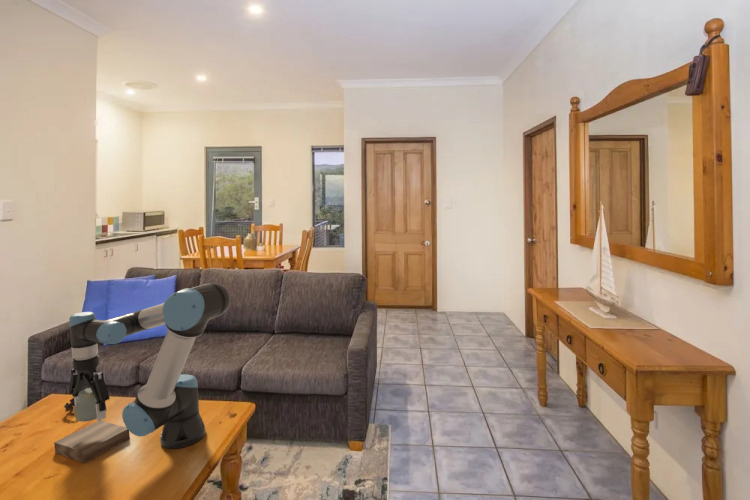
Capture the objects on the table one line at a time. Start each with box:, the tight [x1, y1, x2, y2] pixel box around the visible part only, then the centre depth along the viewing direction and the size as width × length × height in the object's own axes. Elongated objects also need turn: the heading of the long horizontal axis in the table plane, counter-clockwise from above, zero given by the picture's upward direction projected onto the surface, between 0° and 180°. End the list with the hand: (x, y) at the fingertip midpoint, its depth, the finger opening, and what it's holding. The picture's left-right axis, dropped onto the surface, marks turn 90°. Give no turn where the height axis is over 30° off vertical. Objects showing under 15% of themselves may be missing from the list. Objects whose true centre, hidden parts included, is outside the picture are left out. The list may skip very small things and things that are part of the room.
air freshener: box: [72, 387, 107, 422], centre depth 146 cm, size 11×8×10 cm
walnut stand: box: [53, 420, 131, 464], centre depth 147 cm, size 16×16×4 cm
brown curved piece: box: [63, 397, 75, 413], centre depth 174 cm, size 12×10×8 cm
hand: (90, 416), depth 146 cm, fingers closed on air freshener, 11 cm apart
